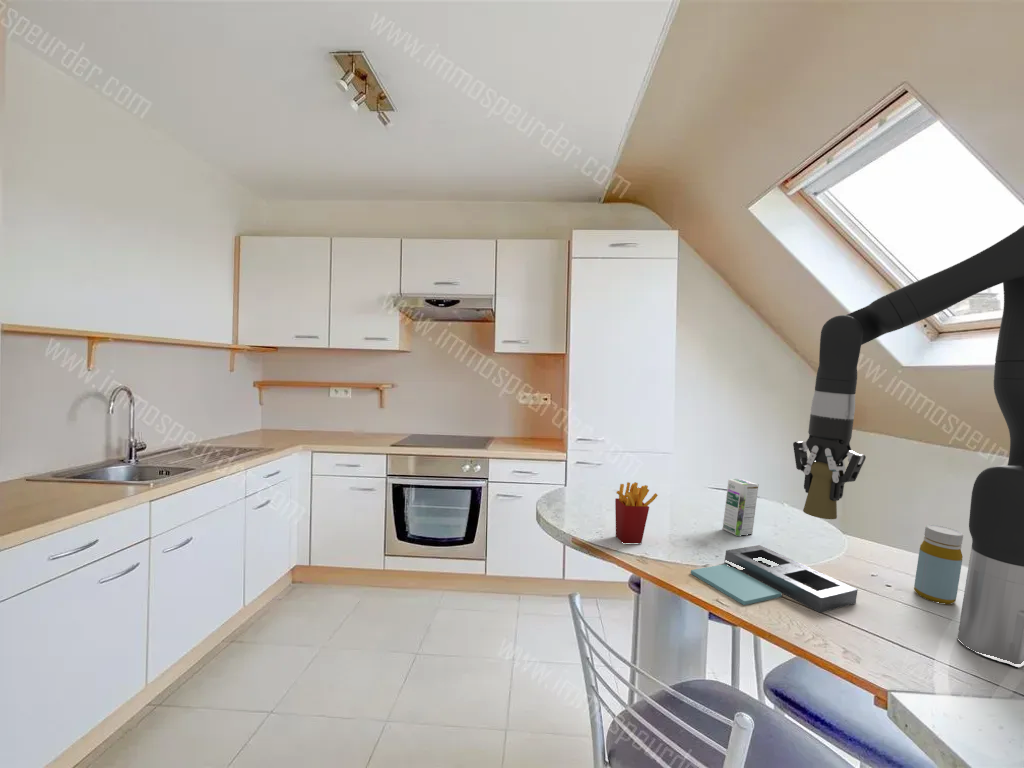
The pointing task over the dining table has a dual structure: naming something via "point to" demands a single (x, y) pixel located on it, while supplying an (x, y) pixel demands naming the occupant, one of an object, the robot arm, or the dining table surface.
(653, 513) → the dining table surface
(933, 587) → the bottle
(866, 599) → the dining table surface
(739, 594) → the board
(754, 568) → the two-slot holder tray
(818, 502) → the cork
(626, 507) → the french fries
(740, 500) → the syrup box
